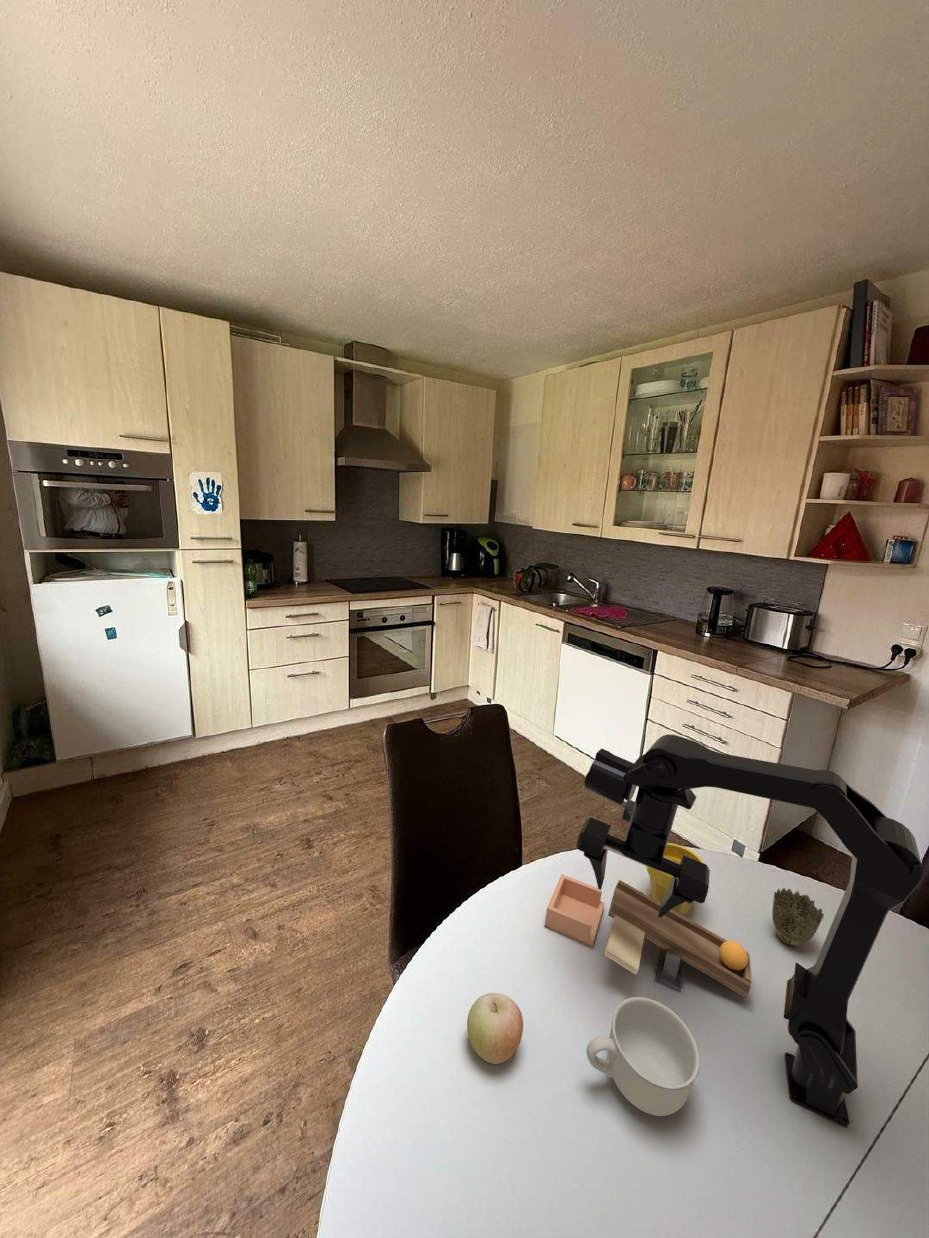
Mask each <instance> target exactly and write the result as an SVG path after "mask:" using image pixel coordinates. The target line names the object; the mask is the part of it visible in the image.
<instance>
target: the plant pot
mask: <svg viewBox="0 0 929 1238" xmlns="http://www.w3.org/2000/svg"><path fill="white" fill-rule="evenodd" d="M683 855H684V856H687V857H689V858H691V859H694V860H696V861H699V862H701V863H704V864H705V862H704V861H703V860H702V858H701V857H700V856H699V855H697V854H696V853H695V852H694V851H692V850H690V849H688V848H687V847H685V846H682V845H680V844H676V843H671V842H667V846H666V849H665V853H664V856H663V857H666V858H668V859H671V860H673V861H675V862H678V863H680V861H681V858H682V856H683ZM646 871H647V874H648V876H649V882H650V883H649V884H650V885H649V886H650V897H651V898H653V899H654V900H656V901H658V902H660V903H662V901H663V898H664V896H665V894H666V892H667V890H668V888H669V886H670V884H671V881H672V879H673V876H671V875H669V874H667V873H664V872H662V871H660V870H656V869H654V868H652V867H649V866H646ZM691 905H692V903H688V902H684V903H682V904H680V905H678V906H676V907H674V908H672V910H674V911H676V912H678V913H681V914H684V916H685V915H686V914H687V913H688V911H689V910H690V908H691Z"/></svg>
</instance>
